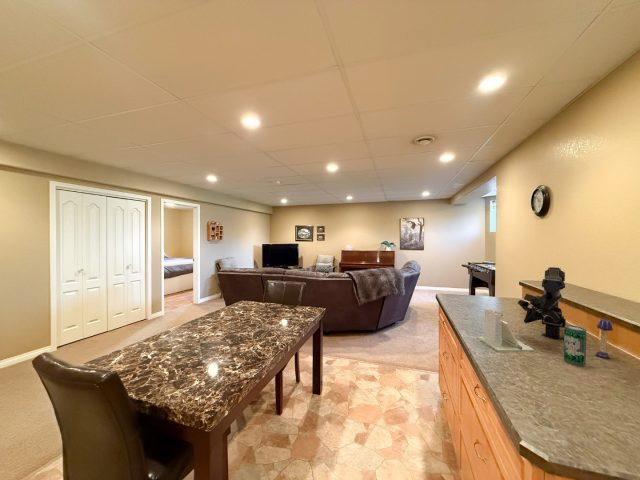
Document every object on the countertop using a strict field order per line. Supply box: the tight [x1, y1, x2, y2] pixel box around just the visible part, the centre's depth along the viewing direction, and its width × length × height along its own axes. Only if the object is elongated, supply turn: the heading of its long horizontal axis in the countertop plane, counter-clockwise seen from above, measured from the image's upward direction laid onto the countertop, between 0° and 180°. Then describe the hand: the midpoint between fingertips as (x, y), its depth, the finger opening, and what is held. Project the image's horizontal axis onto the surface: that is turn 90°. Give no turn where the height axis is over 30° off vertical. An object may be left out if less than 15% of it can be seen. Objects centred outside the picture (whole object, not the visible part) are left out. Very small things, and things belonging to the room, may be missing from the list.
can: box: [563, 324, 587, 368], centre depth 105 cm, size 6×6×15 cm
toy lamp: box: [595, 318, 614, 360], centre depth 109 cm, size 5×5×17 cm
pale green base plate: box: [476, 335, 535, 353], centre depth 122 cm, size 17×15×2 cm
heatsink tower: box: [483, 309, 504, 347], centre depth 122 cm, size 5×8×15 cm, turn 0°
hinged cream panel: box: [502, 320, 520, 347], centre depth 122 cm, size 1×13×14 cm, turn 179°
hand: (524, 322), depth 122 cm, fingers closed
